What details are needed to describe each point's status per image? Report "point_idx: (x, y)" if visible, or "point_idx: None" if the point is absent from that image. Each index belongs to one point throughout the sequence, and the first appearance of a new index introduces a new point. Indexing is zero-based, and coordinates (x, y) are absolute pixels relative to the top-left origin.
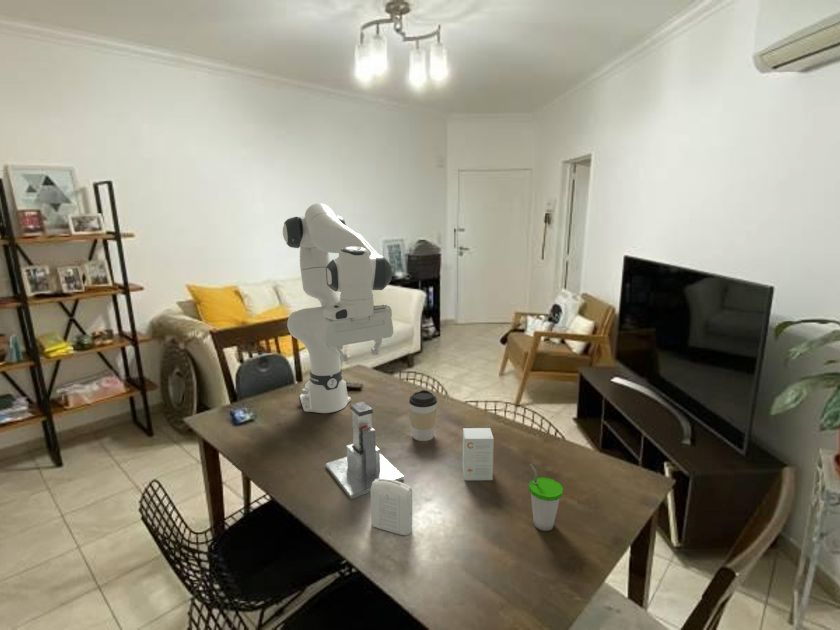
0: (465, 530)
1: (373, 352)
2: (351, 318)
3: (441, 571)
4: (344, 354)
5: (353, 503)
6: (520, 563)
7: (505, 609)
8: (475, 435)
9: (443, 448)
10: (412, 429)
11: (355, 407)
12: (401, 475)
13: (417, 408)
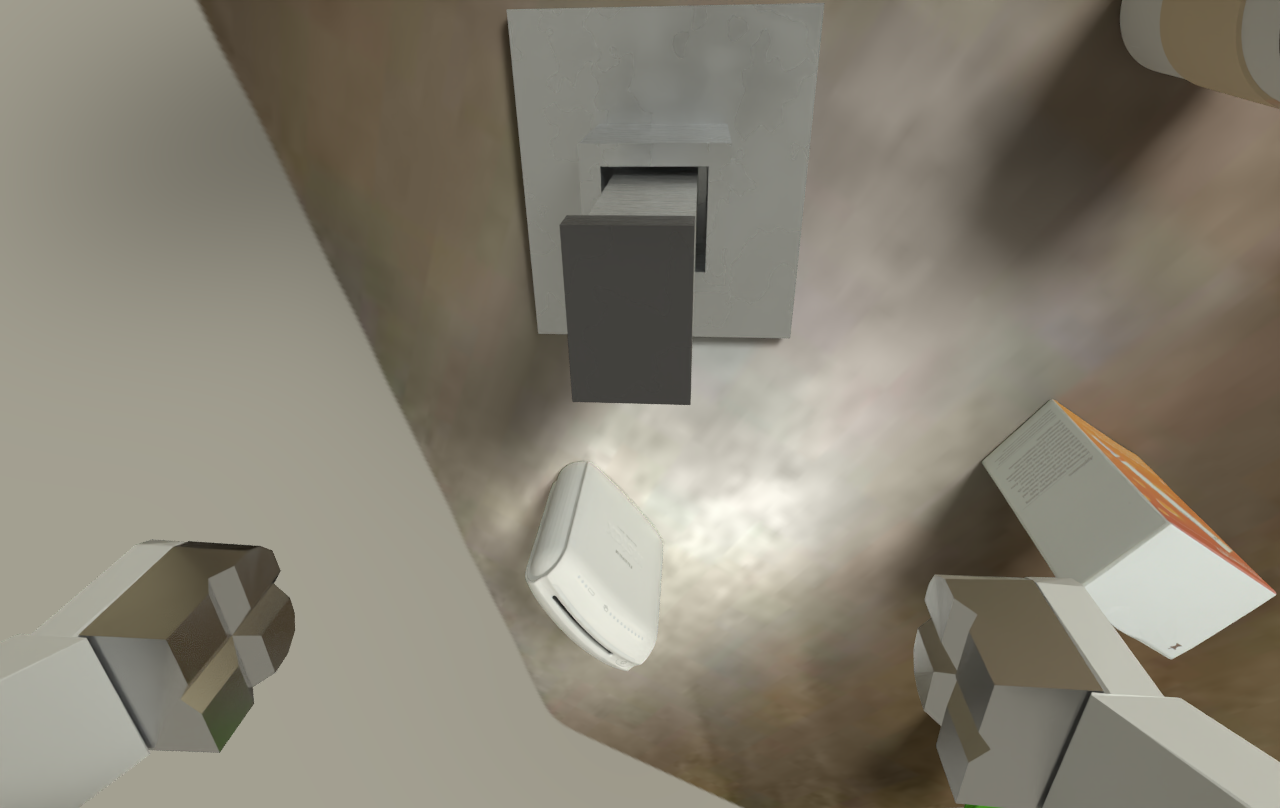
0: (784, 616)
1: (947, 687)
2: None
3: (642, 666)
4: (159, 719)
5: (542, 351)
6: (811, 729)
7: (695, 766)
8: (1136, 606)
9: (1146, 207)
10: None
11: (578, 307)
12: (785, 329)
13: (1275, 60)
